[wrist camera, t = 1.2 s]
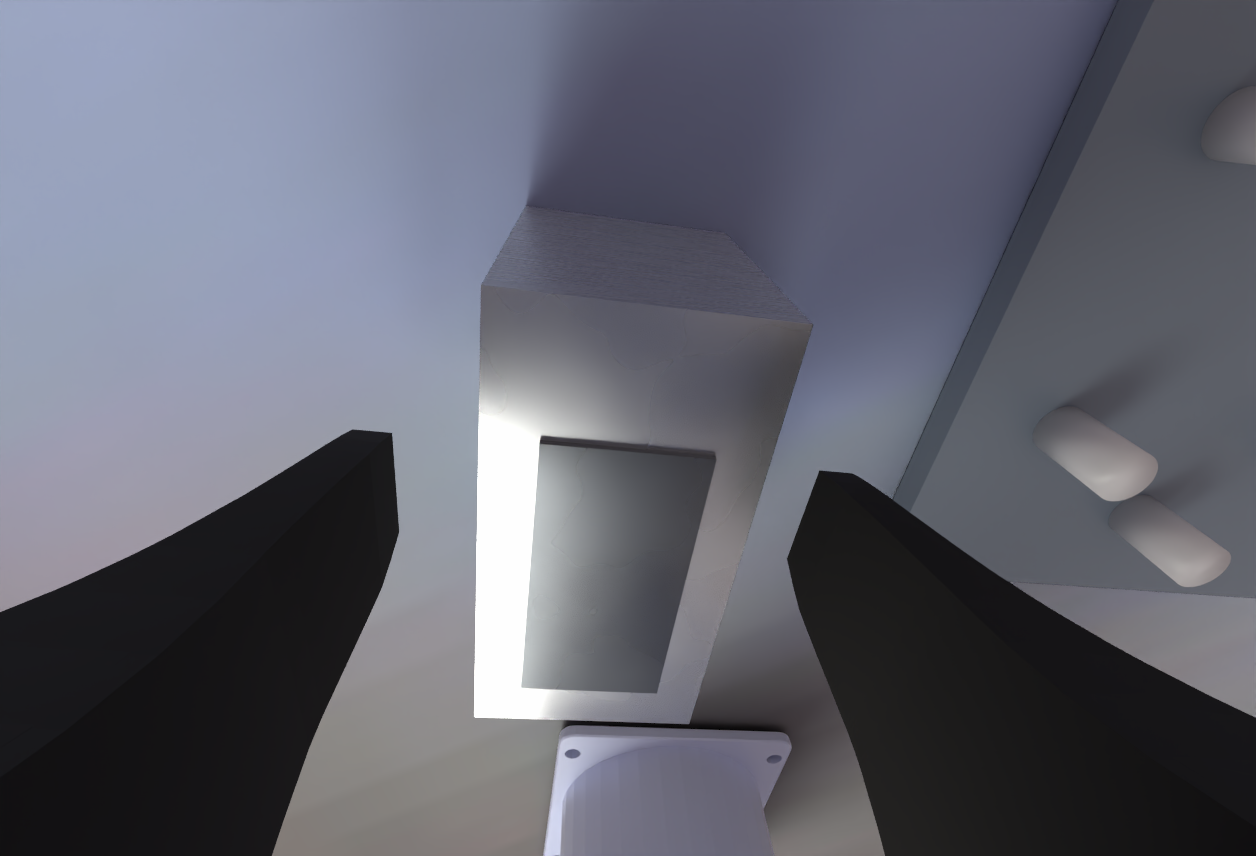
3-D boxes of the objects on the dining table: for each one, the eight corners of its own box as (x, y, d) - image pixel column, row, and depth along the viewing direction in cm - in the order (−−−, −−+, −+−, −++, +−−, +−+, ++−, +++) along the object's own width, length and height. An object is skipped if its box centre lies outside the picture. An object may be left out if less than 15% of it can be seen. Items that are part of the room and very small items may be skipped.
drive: (659, 533, 16) (690, 729, 11) (510, 523, 15) (473, 721, 10) (723, 231, 12) (816, 327, 7) (526, 205, 11) (479, 287, 7)
